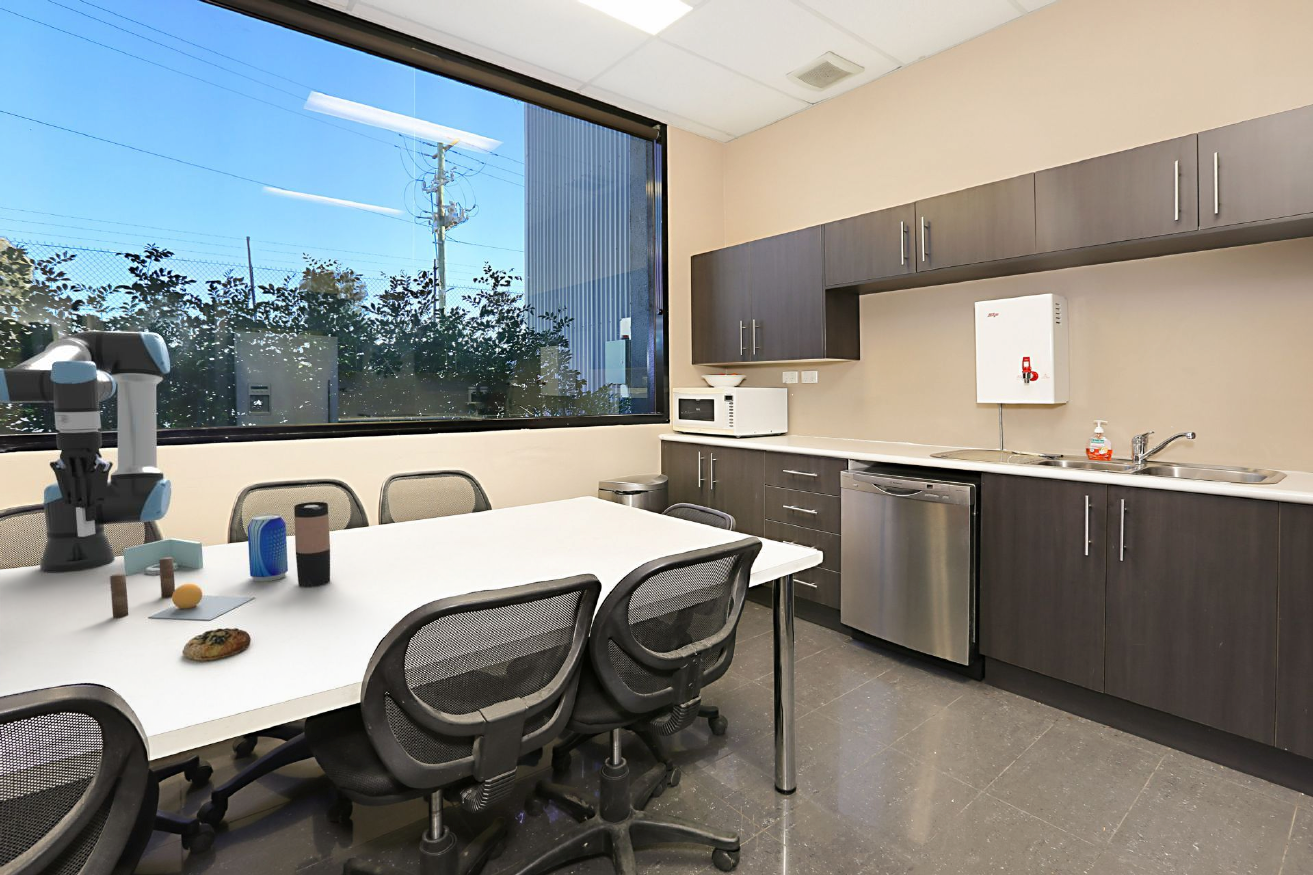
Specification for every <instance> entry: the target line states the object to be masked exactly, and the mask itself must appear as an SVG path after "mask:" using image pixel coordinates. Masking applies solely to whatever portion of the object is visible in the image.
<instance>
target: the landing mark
mask: <svg viewBox="0 0 1313 875" xmlns="http://www.w3.org/2000/svg"><path fill="white" fill-rule="evenodd" d="M254 599H256V597H255V596H234V595H233V596H232V595H231V596H230V595H206V594H205V595H204V594H202V599H201V601H200V602H199V603H198V604H197V605H196V606H194V607H192V608H188V609H182V608H179V607H177V606H175V605H172V606H171V607H169V608H166V609H164V610H162V611H159V612H156V613H155V614H152V615H150V616H148V617H147V618H148V619H162V620H165V619H166V620H189V621H190V620H191V621H209V622H210V621H212V620H214V619H217V618H219V617H220V616H222V615H224V614H226V613H228V612H230V611H232V610H235V609H236V608H238V607H240V606H242V605H244V604H246V603H248V602H250V601H252V600H254Z"/></svg>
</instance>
